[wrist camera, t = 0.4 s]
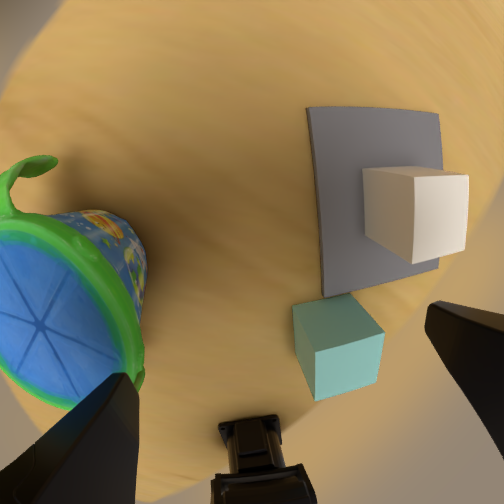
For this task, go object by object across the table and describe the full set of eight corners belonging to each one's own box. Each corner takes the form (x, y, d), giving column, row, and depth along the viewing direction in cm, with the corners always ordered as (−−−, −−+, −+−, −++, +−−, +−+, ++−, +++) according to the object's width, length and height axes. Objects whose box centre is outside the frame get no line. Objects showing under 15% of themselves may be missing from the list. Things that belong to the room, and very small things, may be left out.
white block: (414, 226, 20) (464, 250, 15) (364, 235, 20) (411, 264, 14) (414, 165, 19) (468, 174, 13) (362, 168, 18) (414, 177, 13)
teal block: (347, 339, 24) (375, 382, 18) (295, 352, 24) (314, 401, 18) (349, 292, 22) (385, 332, 17) (291, 305, 22) (315, 352, 16)
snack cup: (26, 174, 16) (-69, 199, 6) (146, 133, 16) (75, 114, 7) (83, 347, 21) (42, 431, 11) (192, 336, 22) (186, 441, 12)
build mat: (434, 265, 23) (438, 268, 22) (321, 294, 22) (324, 297, 21) (433, 114, 18) (438, 113, 17) (306, 108, 17) (309, 107, 17)
